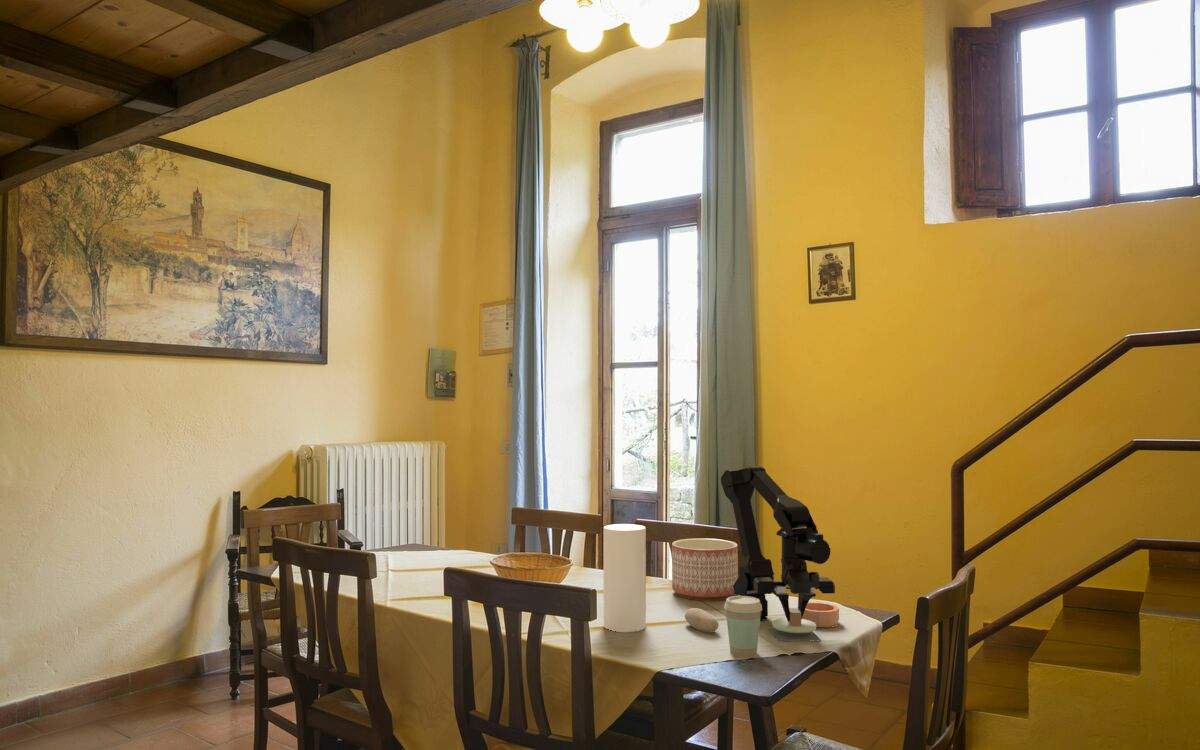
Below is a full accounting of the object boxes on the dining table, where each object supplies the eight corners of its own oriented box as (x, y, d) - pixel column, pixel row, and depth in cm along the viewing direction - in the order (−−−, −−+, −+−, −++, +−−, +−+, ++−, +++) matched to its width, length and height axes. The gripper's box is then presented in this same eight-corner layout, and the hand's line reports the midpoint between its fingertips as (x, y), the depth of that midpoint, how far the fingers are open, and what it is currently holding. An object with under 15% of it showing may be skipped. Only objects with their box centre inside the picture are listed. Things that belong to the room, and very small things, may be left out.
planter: (678, 585, 252) (678, 537, 252) (741, 589, 246) (740, 539, 247) (666, 599, 233) (666, 547, 234) (733, 604, 228) (733, 551, 228)
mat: (778, 641, 193) (778, 639, 193) (769, 629, 203) (769, 627, 203) (820, 641, 193) (820, 639, 193) (809, 629, 203) (809, 627, 203)
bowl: (804, 627, 204) (804, 611, 204) (794, 617, 214) (794, 602, 214) (843, 627, 204) (843, 611, 204) (832, 617, 214) (831, 602, 214)
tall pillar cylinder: (648, 631, 201) (648, 530, 201) (605, 632, 200) (605, 530, 201) (643, 620, 211) (642, 523, 212) (602, 621, 211) (602, 524, 211)
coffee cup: (754, 646, 189) (754, 594, 189) (768, 658, 180) (768, 603, 181) (719, 648, 187) (719, 596, 188) (731, 660, 179) (731, 605, 179)
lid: (777, 633, 193) (777, 616, 193) (768, 621, 203) (768, 605, 203) (821, 633, 193) (821, 616, 193) (809, 621, 203) (809, 604, 203)
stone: (697, 611, 210) (726, 607, 201) (694, 636, 208) (724, 633, 198) (679, 606, 208) (708, 602, 198) (676, 631, 205) (706, 628, 196)
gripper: (762, 563, 191) (762, 630, 190) (841, 563, 191) (842, 630, 190) (752, 554, 202) (753, 617, 201) (828, 554, 202) (828, 617, 201)
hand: (793, 620), depth 198 cm, fingers closed on lid, 2 cm apart
